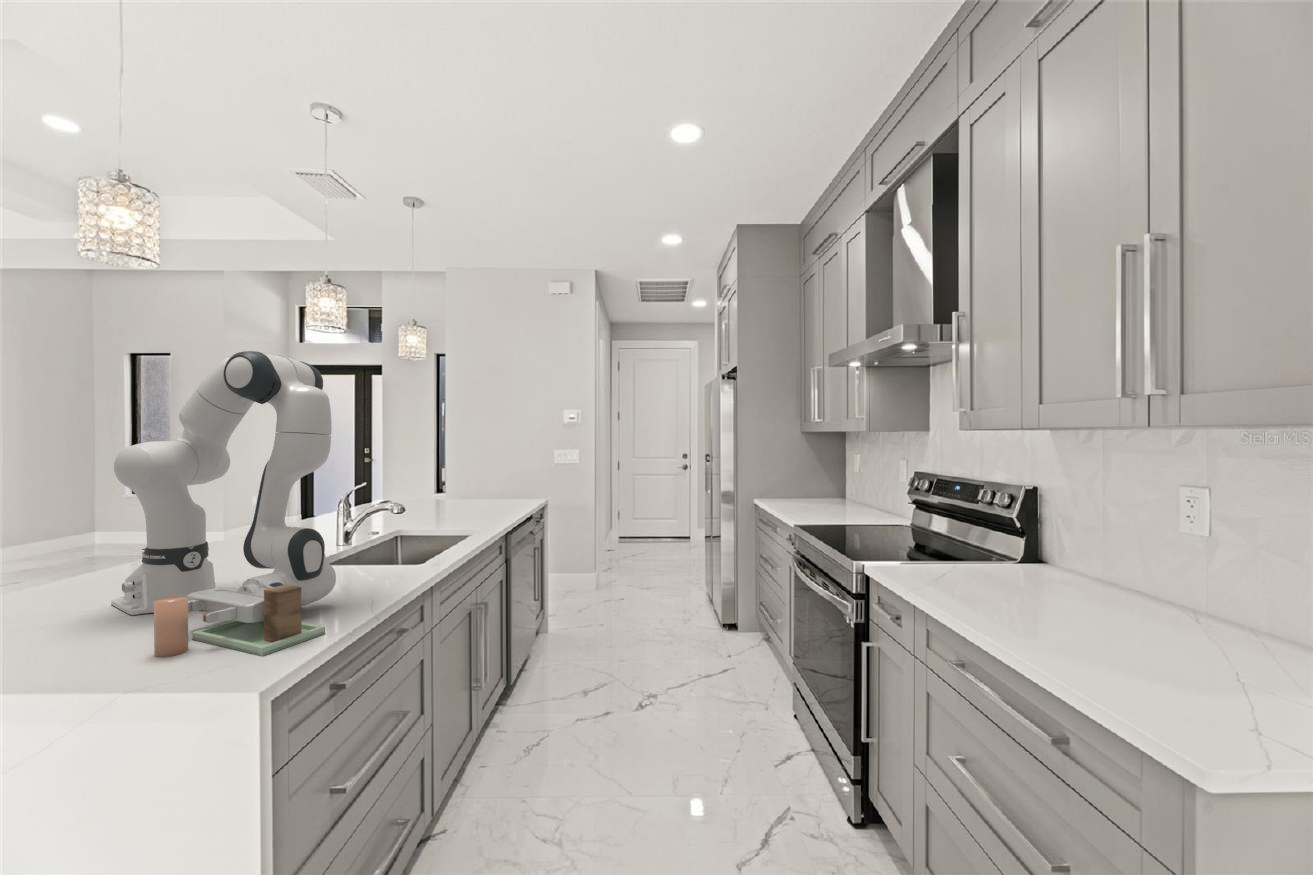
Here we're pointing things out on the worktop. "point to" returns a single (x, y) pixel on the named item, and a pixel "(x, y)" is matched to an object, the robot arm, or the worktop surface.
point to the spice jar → (170, 626)
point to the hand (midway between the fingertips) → (189, 615)
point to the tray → (252, 637)
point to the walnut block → (282, 612)
